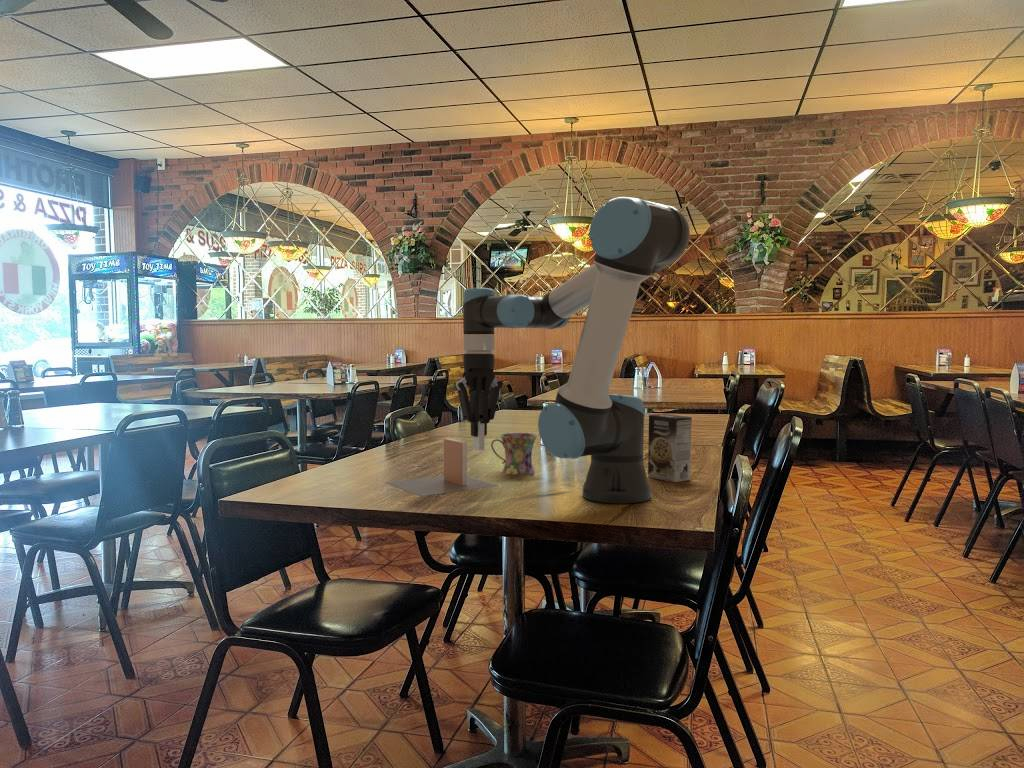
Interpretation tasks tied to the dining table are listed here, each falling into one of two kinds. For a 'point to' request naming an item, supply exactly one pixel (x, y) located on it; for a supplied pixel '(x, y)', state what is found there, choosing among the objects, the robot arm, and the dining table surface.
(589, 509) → the dining table surface
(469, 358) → the robot arm
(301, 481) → the dining table surface
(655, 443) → the cookie box
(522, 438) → the mug
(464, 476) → the tile
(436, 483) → the slate board
